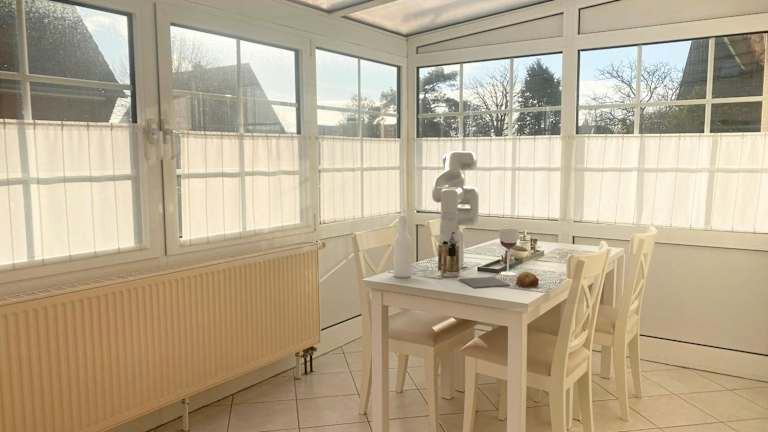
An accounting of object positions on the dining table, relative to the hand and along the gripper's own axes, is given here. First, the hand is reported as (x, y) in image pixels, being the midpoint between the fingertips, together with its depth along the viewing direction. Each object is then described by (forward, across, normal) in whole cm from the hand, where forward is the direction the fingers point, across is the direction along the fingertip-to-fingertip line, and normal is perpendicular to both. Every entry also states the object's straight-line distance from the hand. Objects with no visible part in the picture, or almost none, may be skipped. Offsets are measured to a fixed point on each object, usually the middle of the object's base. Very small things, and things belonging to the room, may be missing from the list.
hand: (448, 254), depth 257 cm
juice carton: (+15, -18, +9) cm, 25 cm away
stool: (+8, 0, 0) cm, 8 cm away
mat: (+14, +1, +18) cm, 23 cm away
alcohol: (+15, -23, -14) cm, 31 cm away
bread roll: (+15, +10, +35) cm, 39 cm away
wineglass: (+15, -15, +39) cm, 44 cm away
